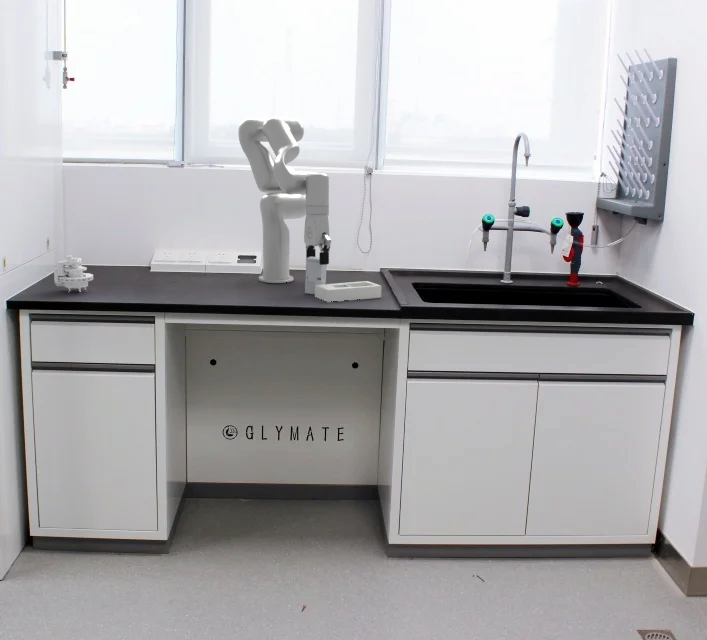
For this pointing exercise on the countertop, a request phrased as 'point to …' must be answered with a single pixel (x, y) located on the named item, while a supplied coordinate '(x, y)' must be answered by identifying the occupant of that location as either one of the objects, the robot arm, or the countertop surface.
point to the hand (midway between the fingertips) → (317, 262)
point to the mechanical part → (71, 274)
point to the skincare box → (314, 274)
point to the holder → (348, 291)
